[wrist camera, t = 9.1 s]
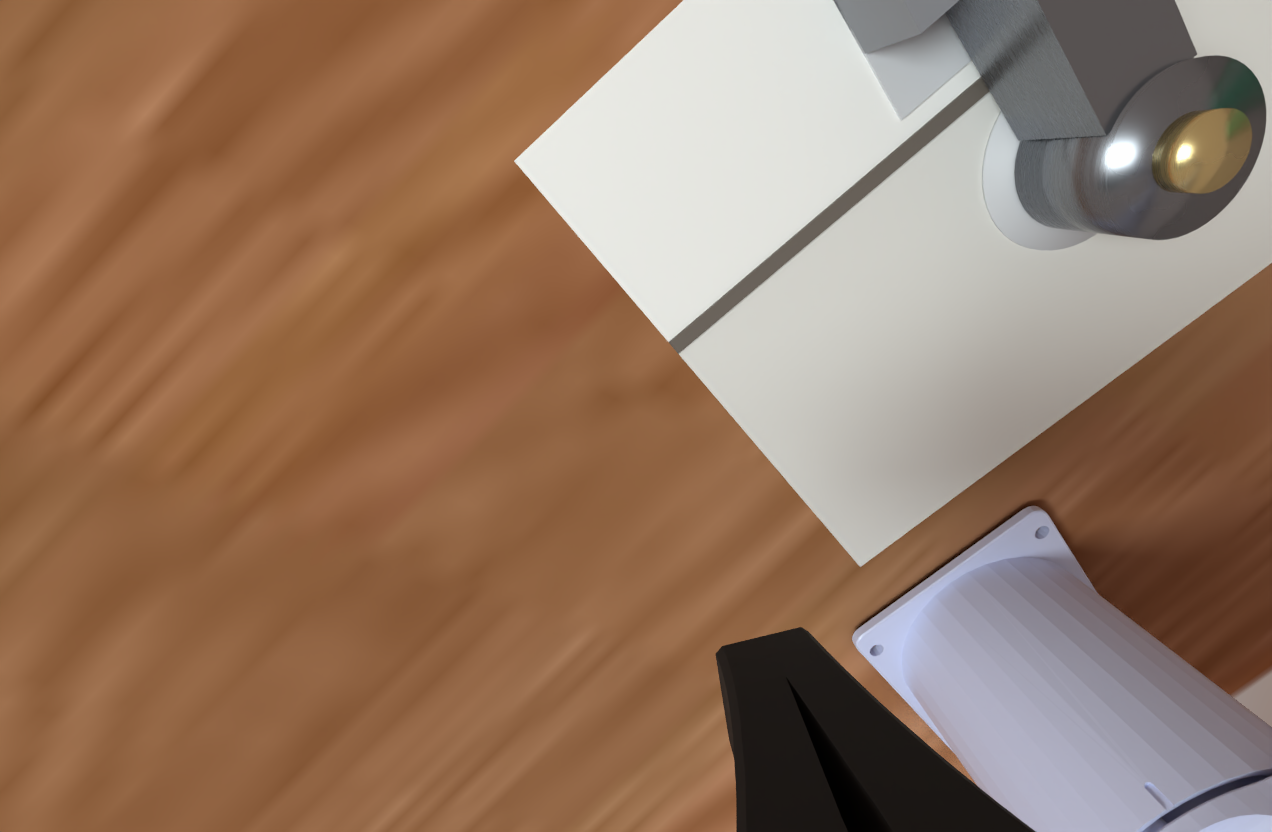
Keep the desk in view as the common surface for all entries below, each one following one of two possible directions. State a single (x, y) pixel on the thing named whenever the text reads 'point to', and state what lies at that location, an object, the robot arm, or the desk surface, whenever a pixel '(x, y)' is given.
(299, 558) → the desk surface
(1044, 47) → the bar
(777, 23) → the door board
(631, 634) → the desk surface
